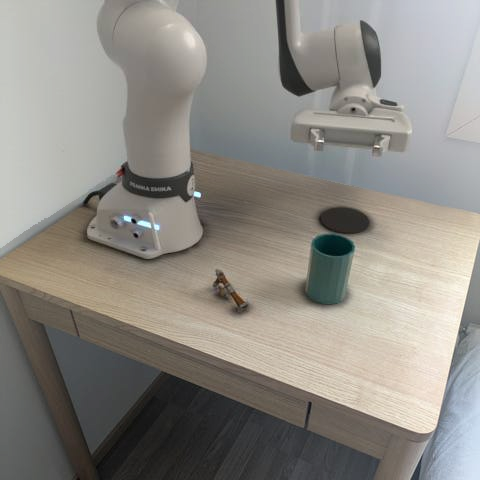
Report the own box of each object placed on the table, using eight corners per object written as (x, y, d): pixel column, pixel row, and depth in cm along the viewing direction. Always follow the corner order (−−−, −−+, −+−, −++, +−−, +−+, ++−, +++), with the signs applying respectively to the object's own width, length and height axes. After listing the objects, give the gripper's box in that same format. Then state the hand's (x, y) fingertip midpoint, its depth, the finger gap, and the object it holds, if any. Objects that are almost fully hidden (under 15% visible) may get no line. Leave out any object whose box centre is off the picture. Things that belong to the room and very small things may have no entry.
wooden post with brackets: (215, 279, 85) (221, 264, 81) (242, 315, 83) (250, 302, 79) (206, 283, 84) (212, 268, 80) (233, 319, 82) (241, 306, 78)
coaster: (316, 228, 99) (316, 227, 99) (324, 205, 106) (325, 204, 106) (366, 237, 97) (366, 236, 97) (371, 212, 104) (371, 211, 104)
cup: (301, 299, 83) (308, 252, 76) (309, 276, 87) (315, 230, 81) (342, 308, 81) (352, 260, 75) (347, 283, 86) (357, 237, 80)
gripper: (296, 95, 89) (285, 123, 79) (412, 104, 86) (416, 135, 76) (293, 129, 93) (283, 161, 83) (404, 140, 90) (407, 173, 80)
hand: (347, 149), depth 80 cm, fingers open, 8 cm apart
